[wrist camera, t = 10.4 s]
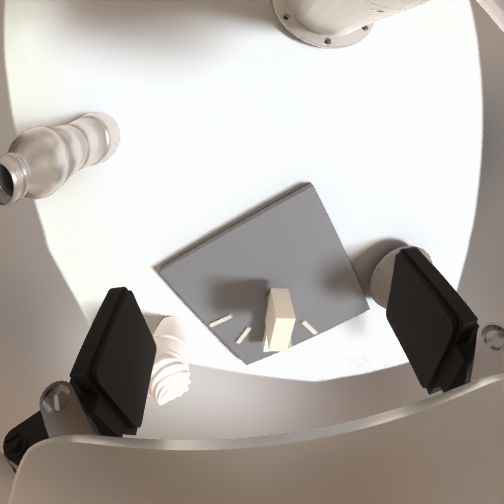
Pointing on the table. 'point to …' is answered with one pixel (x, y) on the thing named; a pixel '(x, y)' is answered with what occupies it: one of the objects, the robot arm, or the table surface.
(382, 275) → the coffee pot
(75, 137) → the plastic bottle
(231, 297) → the plate
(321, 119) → the table surface
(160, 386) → the soft serve ice cream cone
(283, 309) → the peg head
